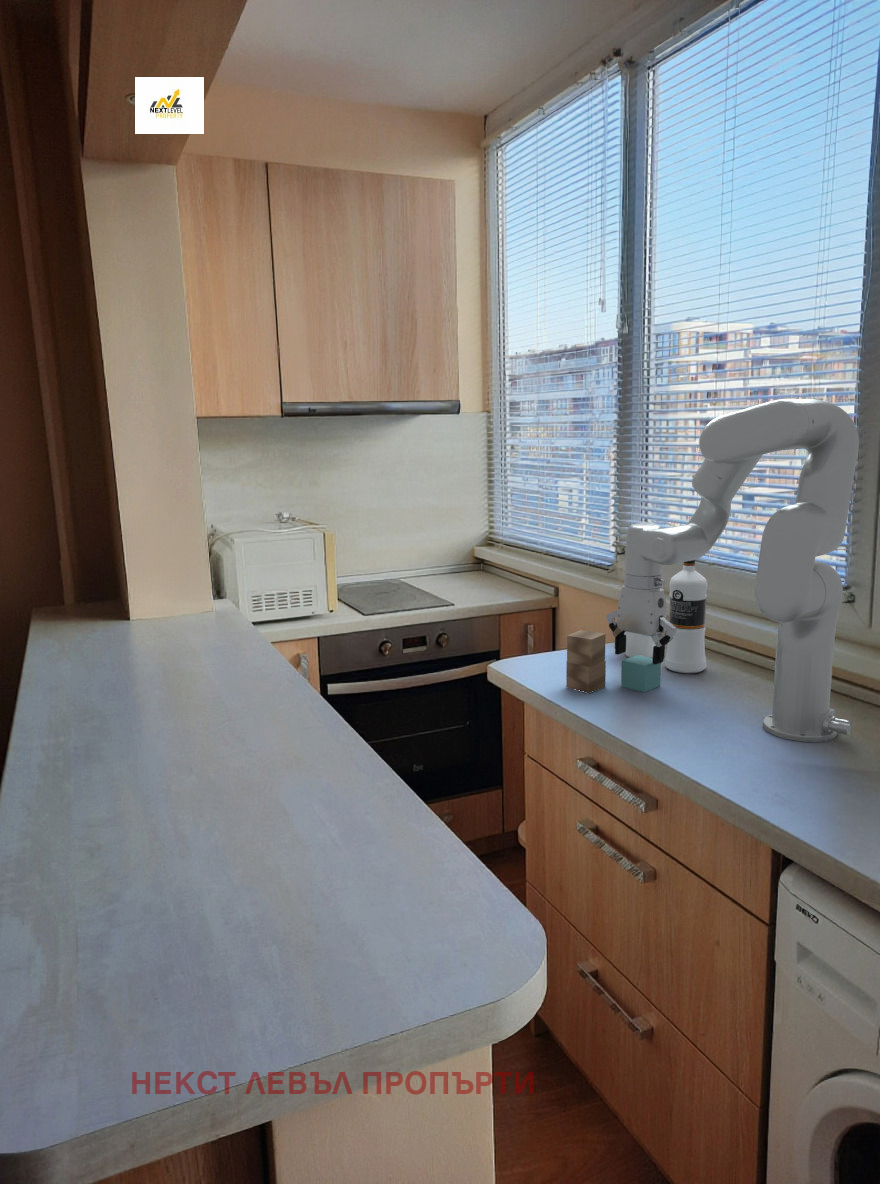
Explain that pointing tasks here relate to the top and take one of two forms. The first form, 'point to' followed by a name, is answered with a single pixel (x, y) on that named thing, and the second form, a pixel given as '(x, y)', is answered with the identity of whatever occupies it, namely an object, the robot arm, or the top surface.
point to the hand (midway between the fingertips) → (638, 658)
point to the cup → (639, 645)
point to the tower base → (586, 676)
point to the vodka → (687, 621)
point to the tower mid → (586, 648)
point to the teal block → (640, 673)
